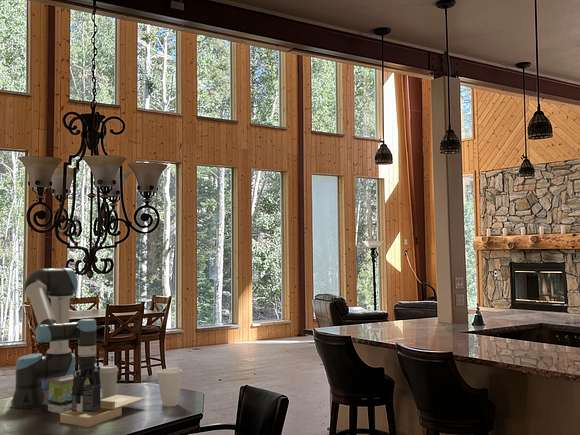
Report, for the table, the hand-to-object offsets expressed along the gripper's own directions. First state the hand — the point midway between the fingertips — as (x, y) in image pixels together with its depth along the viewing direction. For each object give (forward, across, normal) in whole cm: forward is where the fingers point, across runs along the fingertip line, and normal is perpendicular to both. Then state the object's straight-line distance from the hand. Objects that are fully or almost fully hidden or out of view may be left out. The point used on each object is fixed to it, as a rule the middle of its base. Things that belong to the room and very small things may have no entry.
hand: (86, 408), depth 266 cm
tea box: (+5, +11, +22) cm, 25 cm away
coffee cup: (+5, +37, +22) cm, 43 cm away
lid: (+1, +18, 0) cm, 18 cm away
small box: (+1, 0, 0) cm, 1 cm away
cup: (+5, +37, -16) cm, 41 cm away
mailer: (+5, +3, 0) cm, 6 cm away
